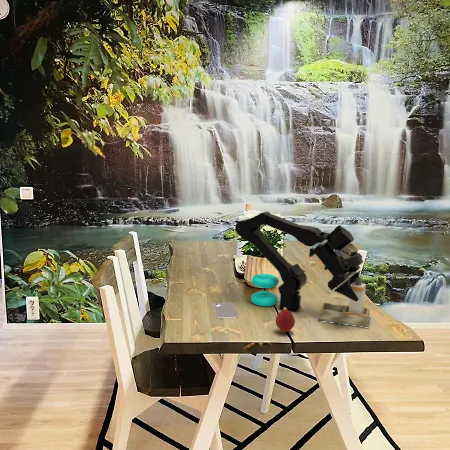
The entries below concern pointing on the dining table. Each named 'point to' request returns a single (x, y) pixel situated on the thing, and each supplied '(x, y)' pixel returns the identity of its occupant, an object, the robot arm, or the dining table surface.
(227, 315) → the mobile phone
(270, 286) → the donuts
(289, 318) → the onion
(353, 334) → the dining table surface
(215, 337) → the dining table surface
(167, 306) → the dining table surface
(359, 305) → the bottle
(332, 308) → the rack
